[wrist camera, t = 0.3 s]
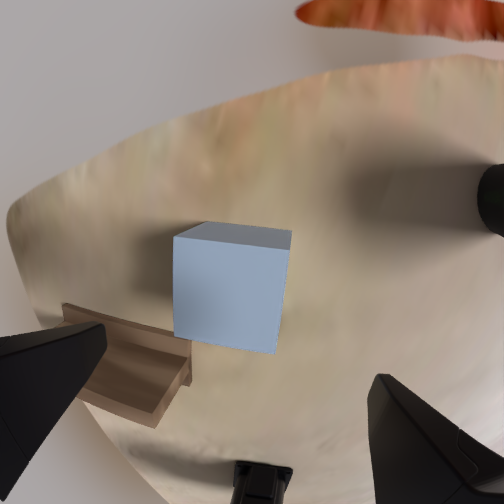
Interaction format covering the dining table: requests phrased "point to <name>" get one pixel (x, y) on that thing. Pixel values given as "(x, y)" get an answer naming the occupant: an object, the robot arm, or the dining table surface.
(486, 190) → the cup
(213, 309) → the letter cube
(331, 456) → the dining table surface
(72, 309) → the wooden l bracket
